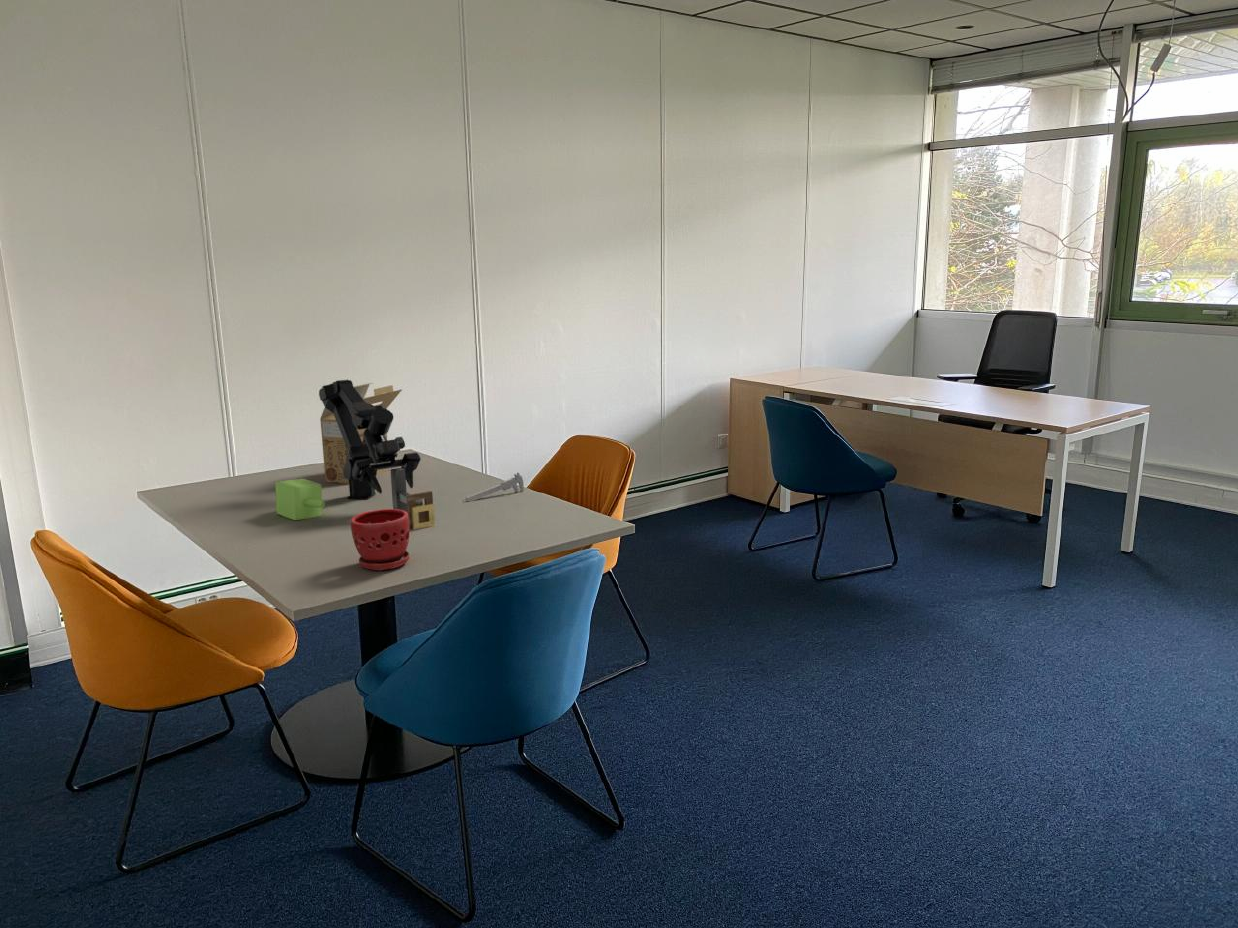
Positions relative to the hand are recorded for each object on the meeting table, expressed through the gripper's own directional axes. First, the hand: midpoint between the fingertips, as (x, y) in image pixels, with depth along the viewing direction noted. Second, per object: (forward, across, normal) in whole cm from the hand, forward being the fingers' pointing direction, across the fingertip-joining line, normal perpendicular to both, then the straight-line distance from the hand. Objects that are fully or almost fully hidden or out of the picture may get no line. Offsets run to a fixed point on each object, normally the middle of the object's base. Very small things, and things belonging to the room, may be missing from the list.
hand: (396, 490), depth 259 cm
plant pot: (+33, -21, -22) cm, 45 cm away
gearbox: (-7, -21, +17) cm, 28 cm away
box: (-31, +11, +42) cm, 53 cm away
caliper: (+5, +31, +6) cm, 32 cm away
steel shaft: (+10, 0, 0) cm, 10 cm away
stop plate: (+14, 0, -4) cm, 15 cm away
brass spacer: (+16, 0, -6) cm, 17 cm away
